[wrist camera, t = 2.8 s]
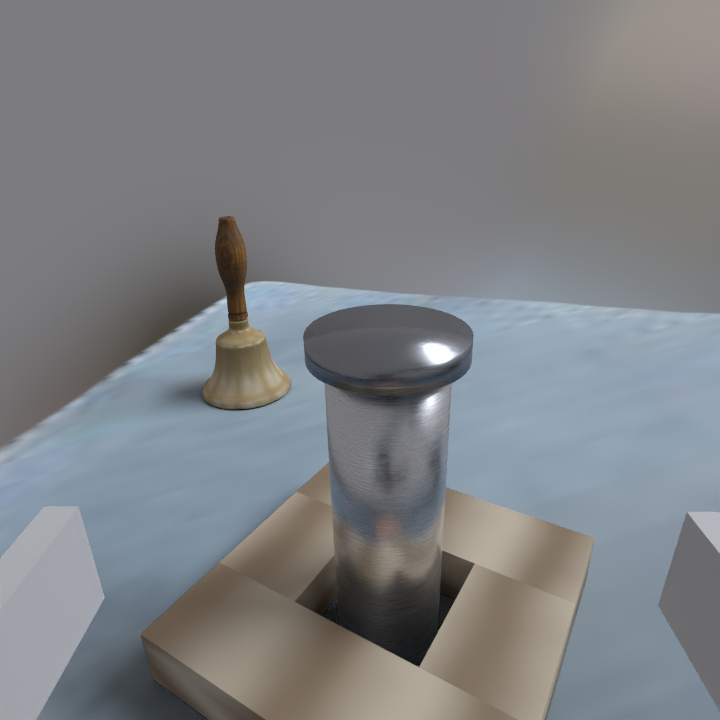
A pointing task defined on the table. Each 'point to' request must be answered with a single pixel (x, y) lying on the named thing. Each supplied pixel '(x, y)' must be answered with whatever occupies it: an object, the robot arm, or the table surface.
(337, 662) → the frame
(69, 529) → the robot arm
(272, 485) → the table surface
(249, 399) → the hand bell
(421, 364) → the aluminium plug
